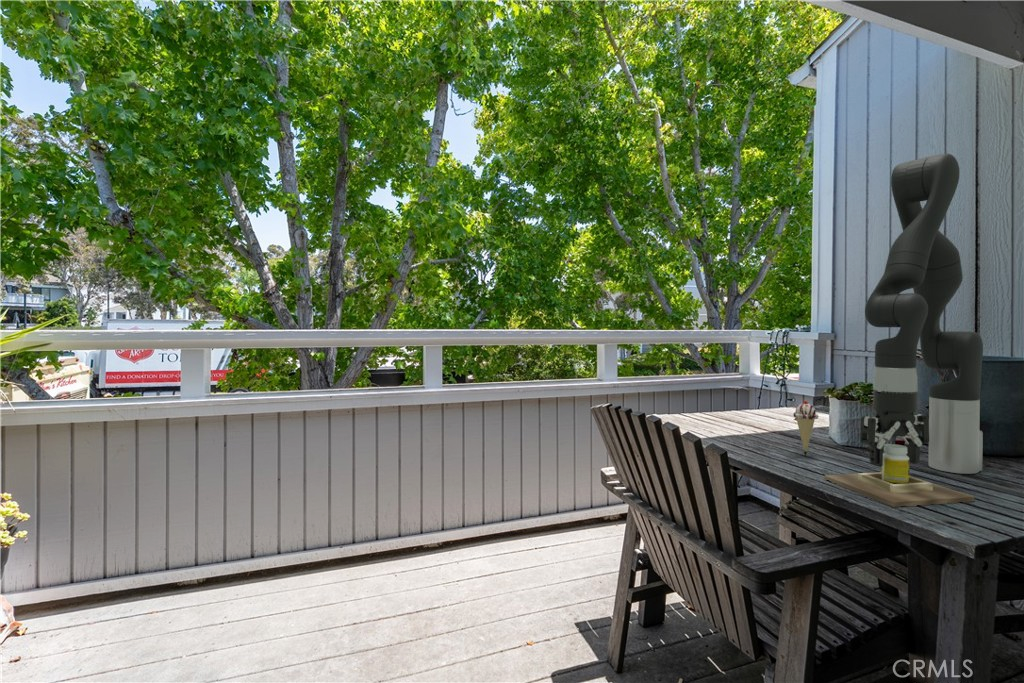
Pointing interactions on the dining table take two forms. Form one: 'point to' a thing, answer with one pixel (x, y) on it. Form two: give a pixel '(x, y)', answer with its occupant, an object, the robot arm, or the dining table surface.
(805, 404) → the ice cream cone
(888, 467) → the supplement bottle
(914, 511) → the dining table surface
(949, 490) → the socket board
